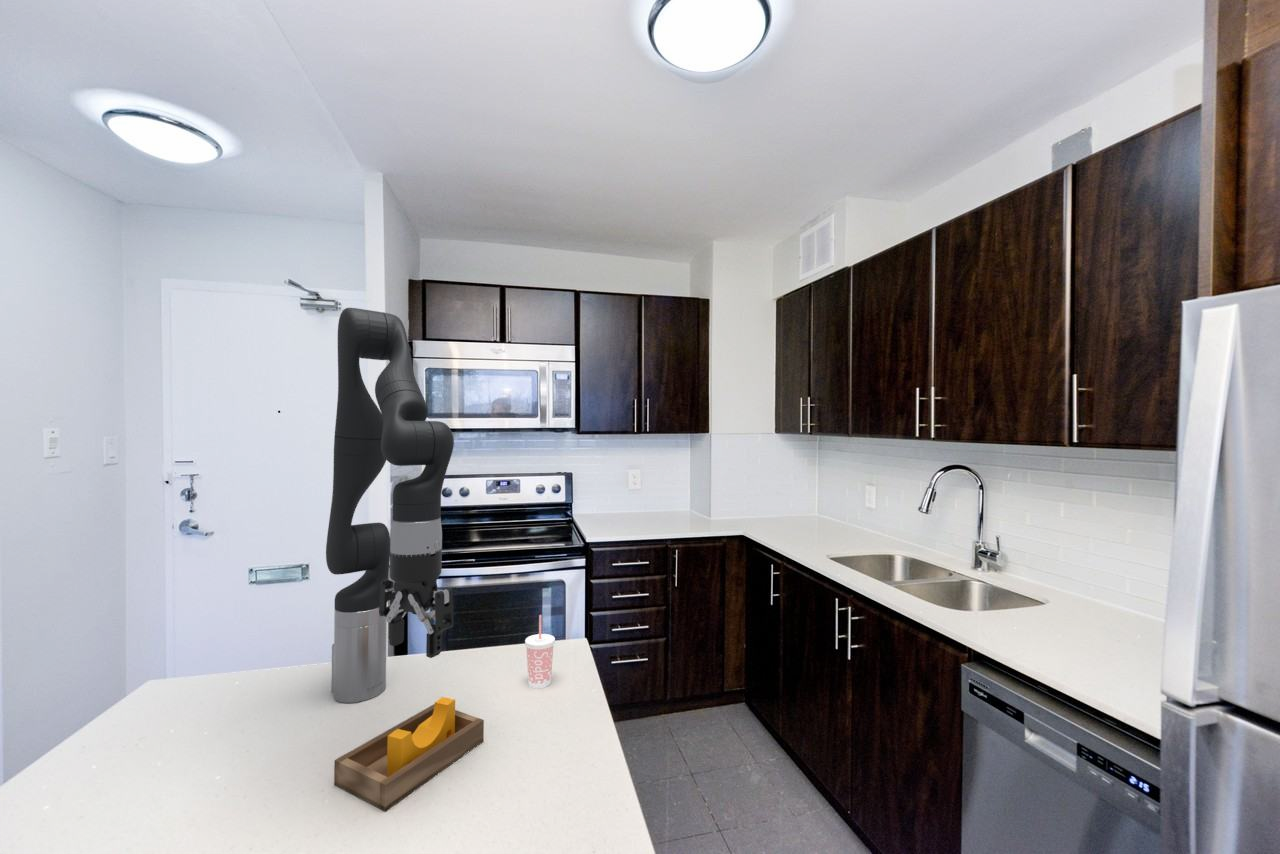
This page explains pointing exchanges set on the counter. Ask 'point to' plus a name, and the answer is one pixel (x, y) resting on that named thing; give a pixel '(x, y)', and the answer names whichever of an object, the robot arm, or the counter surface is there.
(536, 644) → the beverage cup
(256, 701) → the counter surface
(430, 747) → the pipe clamp
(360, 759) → the wooden tray
